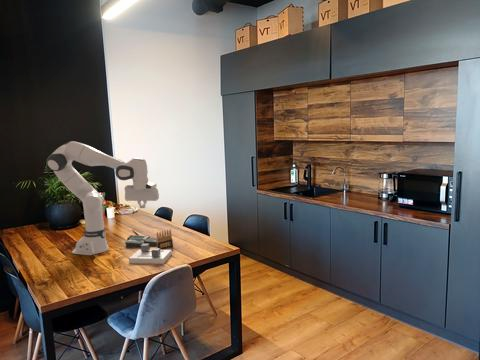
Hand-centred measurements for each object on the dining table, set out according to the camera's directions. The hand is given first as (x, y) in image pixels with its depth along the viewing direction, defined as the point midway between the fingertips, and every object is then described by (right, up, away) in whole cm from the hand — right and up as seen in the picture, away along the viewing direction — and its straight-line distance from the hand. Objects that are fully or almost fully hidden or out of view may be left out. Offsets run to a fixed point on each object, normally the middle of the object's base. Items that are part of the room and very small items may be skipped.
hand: (142, 207), depth 223 cm
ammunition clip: (+9, -28, +20) cm, 35 cm away
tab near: (+9, -28, -3) cm, 29 cm away
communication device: (-6, -27, +29) cm, 40 cm away
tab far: (0, -27, +6) cm, 27 cm away
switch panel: (+5, -31, +2) cm, 31 cm away
